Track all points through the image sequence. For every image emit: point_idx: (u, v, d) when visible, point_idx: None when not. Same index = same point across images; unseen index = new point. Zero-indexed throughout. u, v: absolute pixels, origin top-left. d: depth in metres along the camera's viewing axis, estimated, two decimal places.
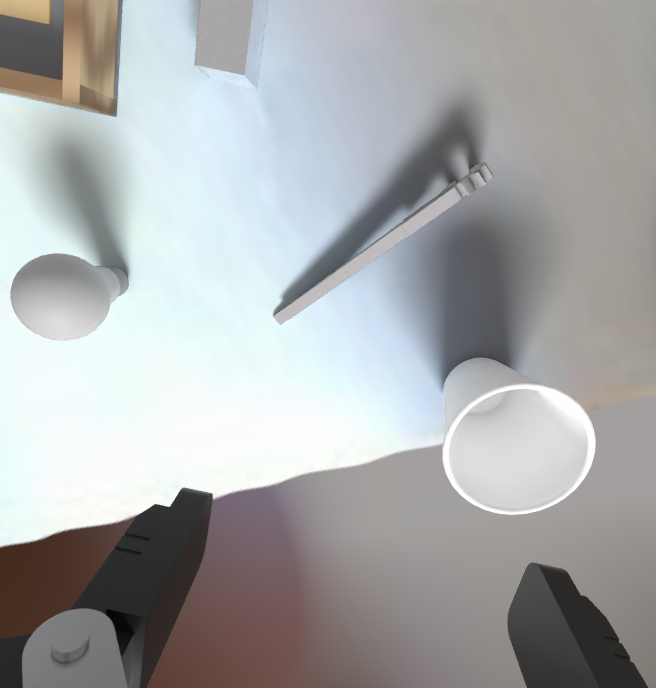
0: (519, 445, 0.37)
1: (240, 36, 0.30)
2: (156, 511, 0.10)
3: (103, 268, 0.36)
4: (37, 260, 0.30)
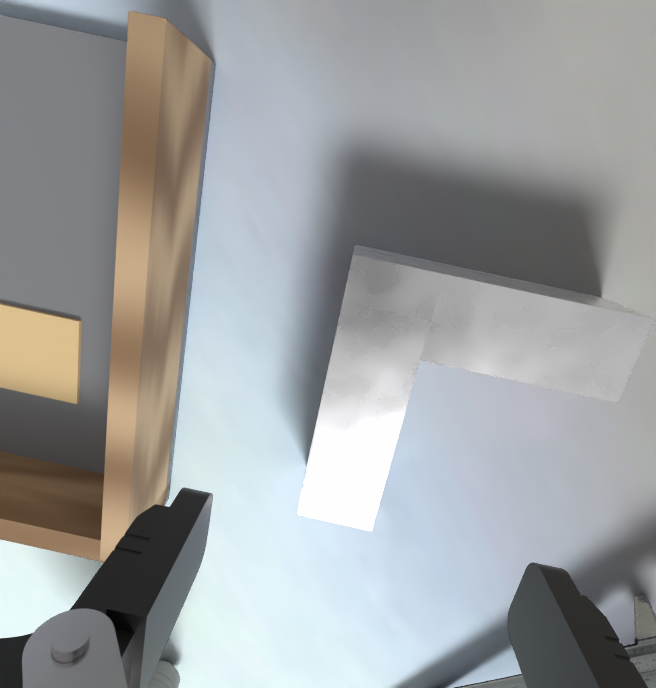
0: None
1: (369, 487, 0.20)
2: (156, 511, 0.10)
3: None
4: None
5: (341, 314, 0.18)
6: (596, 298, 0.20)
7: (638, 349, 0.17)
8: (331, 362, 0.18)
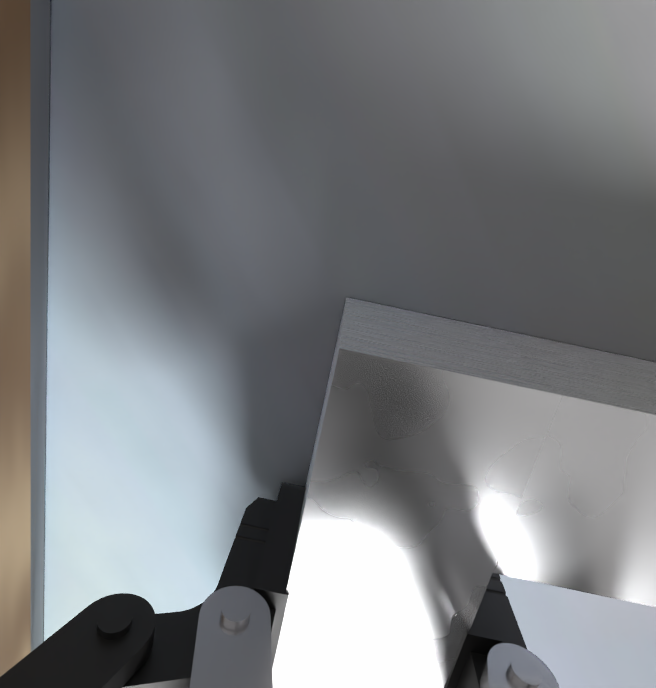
0: None
1: None
2: (261, 503, 0.11)
3: None
4: None
5: (314, 477, 0.08)
6: None
7: None
8: (294, 571, 0.08)
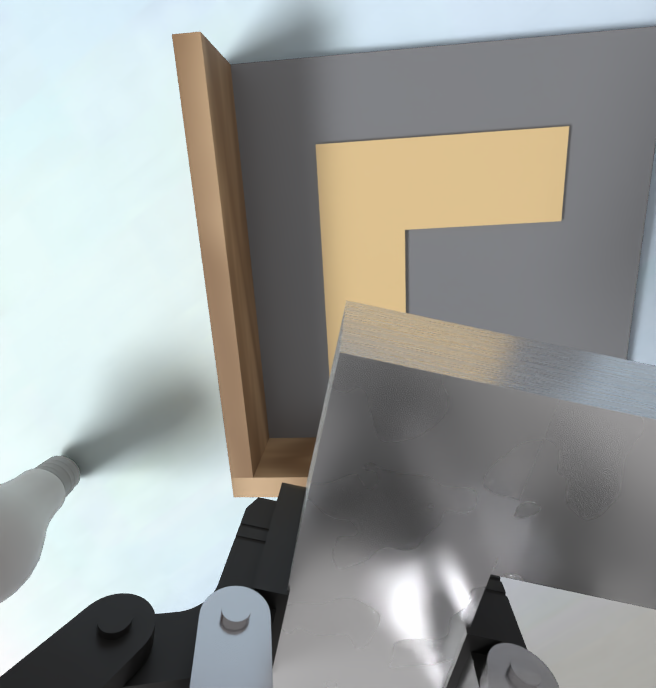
0: None
1: None
2: (261, 503, 0.11)
3: (60, 500, 0.28)
4: None
5: (314, 480, 0.08)
6: None
7: None
8: (295, 572, 0.08)
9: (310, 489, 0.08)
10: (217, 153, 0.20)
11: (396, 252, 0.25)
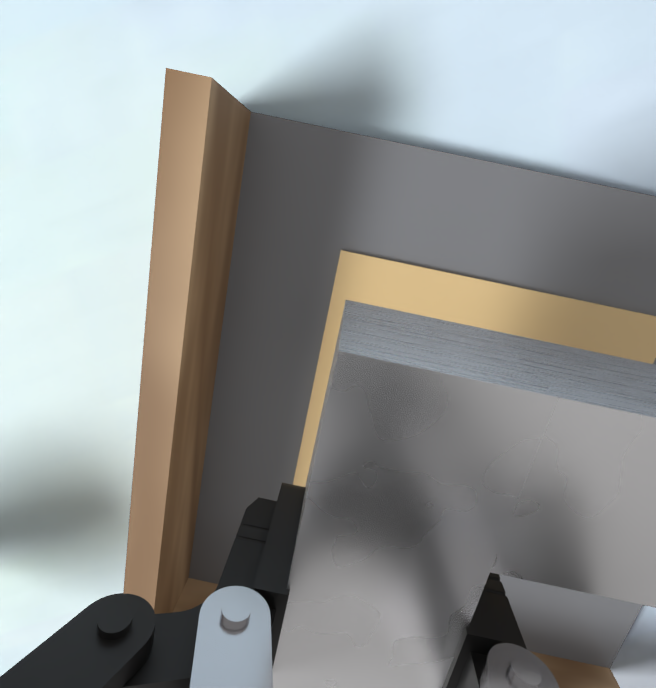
0: None
1: None
2: (261, 503, 0.11)
3: None
4: None
5: (314, 478, 0.08)
6: None
7: None
8: (294, 571, 0.08)
9: (309, 487, 0.08)
10: (197, 253, 0.13)
11: None
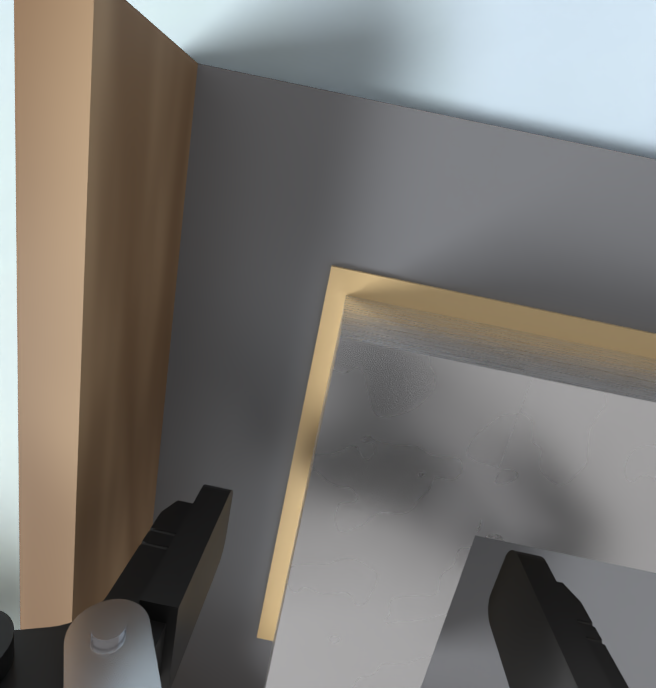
0: None
1: None
2: (179, 506, 0.11)
3: None
4: None
5: (318, 451, 0.09)
6: None
7: None
8: (301, 536, 0.09)
9: (314, 459, 0.09)
10: (97, 279, 0.08)
11: None
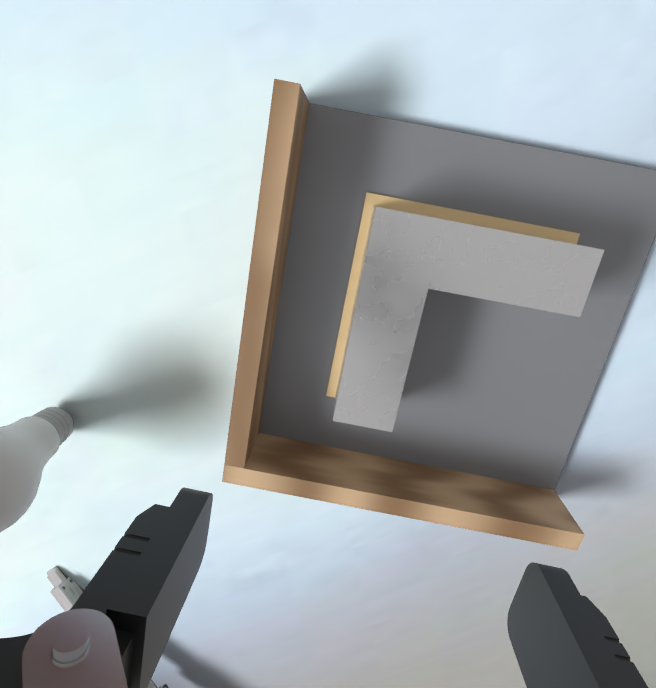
0: None
1: (390, 395, 0.25)
2: (156, 511, 0.10)
3: (54, 450, 0.30)
4: (3, 490, 0.24)
5: (367, 254, 0.23)
6: None
7: (593, 274, 0.23)
8: (359, 293, 0.24)
9: (366, 258, 0.23)
10: (286, 187, 0.23)
11: None
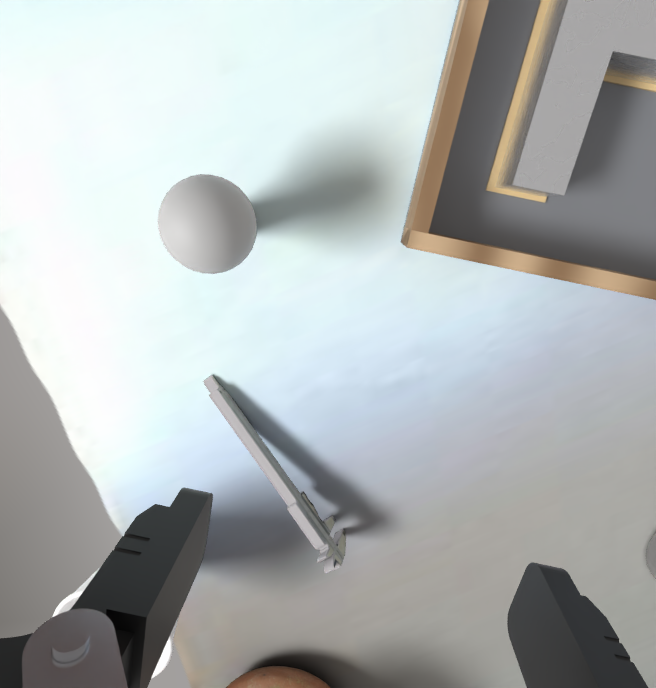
0: None
1: (567, 158, 0.29)
2: (156, 511, 0.10)
3: None
4: (246, 218, 0.28)
5: (563, 17, 0.27)
6: None
7: None
8: (552, 56, 0.28)
9: (561, 21, 0.27)
10: None
11: None
